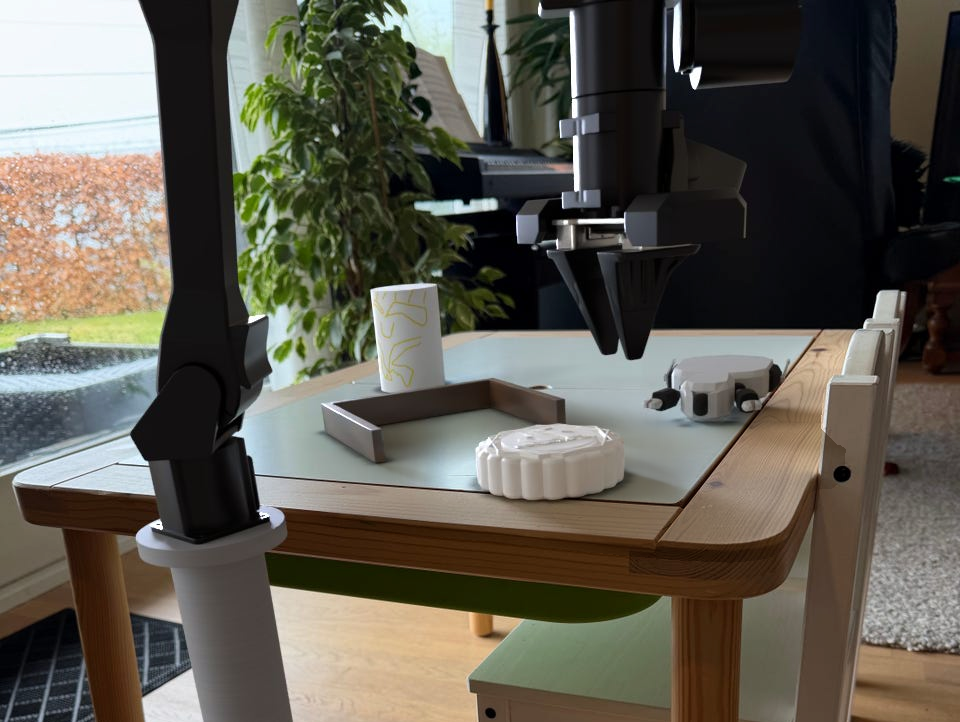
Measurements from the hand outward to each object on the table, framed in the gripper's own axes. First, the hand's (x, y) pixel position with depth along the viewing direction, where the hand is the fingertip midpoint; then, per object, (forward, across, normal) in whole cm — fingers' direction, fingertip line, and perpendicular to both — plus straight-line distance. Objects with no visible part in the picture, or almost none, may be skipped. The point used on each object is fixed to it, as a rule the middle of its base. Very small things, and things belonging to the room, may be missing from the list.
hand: (621, 357), depth 67 cm
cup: (+11, +61, -7) cm, 62 cm away
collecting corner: (+11, +34, 0) cm, 36 cm away
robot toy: (+11, +23, -25) cm, 36 cm away
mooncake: (+11, +11, 0) cm, 16 cm away
